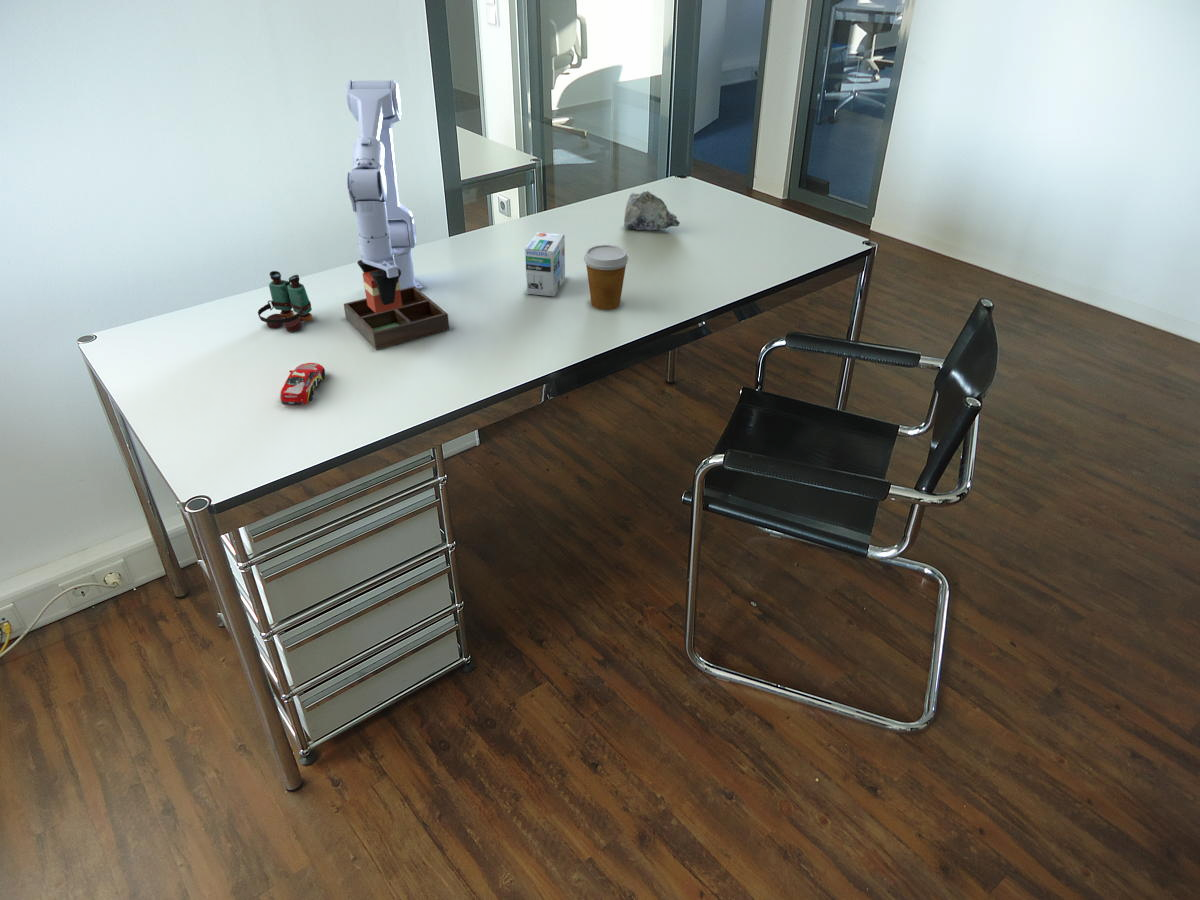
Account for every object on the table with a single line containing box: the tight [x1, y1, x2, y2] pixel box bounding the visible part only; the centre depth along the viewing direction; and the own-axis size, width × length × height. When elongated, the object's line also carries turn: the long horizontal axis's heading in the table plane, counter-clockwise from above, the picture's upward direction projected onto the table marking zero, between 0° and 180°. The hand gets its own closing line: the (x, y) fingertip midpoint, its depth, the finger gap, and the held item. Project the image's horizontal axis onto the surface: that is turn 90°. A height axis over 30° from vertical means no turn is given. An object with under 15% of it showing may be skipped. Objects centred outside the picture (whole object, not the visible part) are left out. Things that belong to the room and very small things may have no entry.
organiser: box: [343, 286, 450, 351], centre depth 178 cm, size 16×16×4 cm
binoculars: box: [257, 270, 314, 333], centre depth 175 cm, size 9×11×10 cm
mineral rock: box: [623, 190, 681, 231], centre depth 222 cm, size 13×11×10 cm
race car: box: [279, 362, 326, 406], centre depth 156 cm, size 13×5×4 cm, turn 177°
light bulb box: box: [524, 231, 566, 298], centre depth 192 cm, size 11×7×11 cm, turn 168°
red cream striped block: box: [361, 269, 402, 314], centre depth 169 cm, size 4×6×7 cm
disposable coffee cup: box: [583, 244, 630, 311], centre depth 185 cm, size 10×10×12 cm
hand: (383, 298), depth 170 cm, fingers closed on red cream striped block, 4 cm apart
